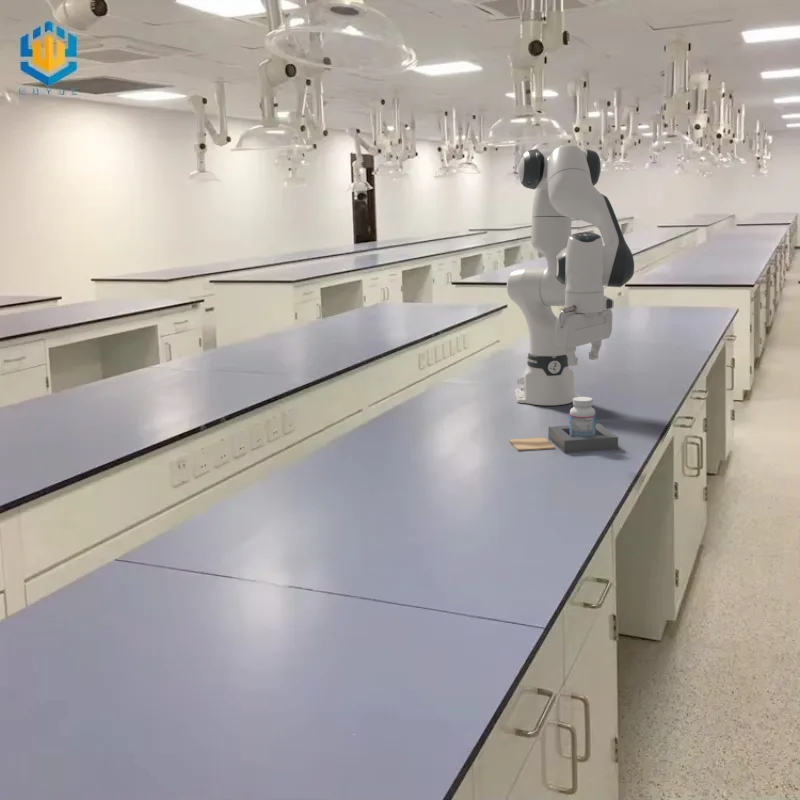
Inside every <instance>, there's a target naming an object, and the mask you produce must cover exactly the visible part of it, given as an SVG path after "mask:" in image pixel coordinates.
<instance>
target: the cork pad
mask: <svg viewBox="0 0 800 800" xmlns="http://www.w3.org/2000/svg"><path fill="white" fill-rule="evenodd" d="M508 442H509V443H510V444H511V445H512V447H514V448H515V450H516V451H517V452H526V451H529V452H530V451H539V450H541V451H542V450H555V449H556V447H555V446H554V445H553V443H552V442H550V440H549V439H547V438H546V437H544V436H543V437H526V438H513V439H511V438H510V439H508Z"/></svg>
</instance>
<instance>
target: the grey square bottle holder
mask: <svg viewBox="0 0 800 800" xmlns="http://www.w3.org/2000/svg"><path fill="white" fill-rule="evenodd" d="M547 433H548V439H547V440H549V441H551V443H552V444H554V445H555V446H556V447H557V448H558V449H559V450H560V451H561V452H563V454H571V453H584V452H585V453H586V452H599V451H613V450H615V451H616V450H618V449H619V437H618V436H617V435H616V434H615V433H613V432H612V431H610V430H609V429H607V428H606V427H605V426H603V425H602V424H601V423H595V436H582V437H571V436H570V424H569V425H555V426H548V432H547Z"/></svg>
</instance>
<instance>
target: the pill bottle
mask: <svg viewBox="0 0 800 800" xmlns="http://www.w3.org/2000/svg"><path fill="white" fill-rule="evenodd" d="M593 400H594V399H593V398H592V397H589V396H580V397H575V398H573V402H572V406H573V407H572V408H570V410H569V425H570V436H571V437H582V436H595V424H596V415H597V414H596V410H595V408H593V407H592V406H593V403H594V402H593Z"/></svg>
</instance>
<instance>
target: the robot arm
mask: <svg viewBox="0 0 800 800" xmlns="http://www.w3.org/2000/svg"><path fill="white" fill-rule="evenodd" d="M600 158H601V157H600V156H599V154H598V153H597V152H596V151H594V150H591V149H586V148H584V149H581V148H580V147H579V146H577V145H574V144H563V145H560V146H558V147H556V148H545V149H543V148H542V149H538V148H535V149H529V150H526V151H525V152H524V153H523V154H522V155H521V158H520V160H519V163H518V169H517V170H518V171H517V172H518V177H519V181H520V183H521V185H522V186H523V187H524V188H525V189H529V190H535V192H534V197H533V204H532V212H531V213H532V216H531V234H530V235H531V237H530V239H531V245H532V247H533V248H534V250H535V251H537V252H538V253H540V254H542V255H543V256H544V257H545V259H546V261H547V266H526V267H521V268H517V269H514V270H513V271H512V272H511V273H510V274H509V276H508V277H507V281H506V292H507V294H508V297H509V299H511V301H512V302H514V304H516V306H518V307H519V309H520V310H521V312H522V314H523V316H524V318H525V321H526V323H527V328H528V339H529V340H528V341H529V343H528V344H529V345H528V346H529V352H528V354H527V357H526V359H527V361H526V364H527V366H526V368H525V370H523V371H524V372H523V373H522V375H521V376H520V377H517V379H516V381H517V386H520V388H515V390H514V395H515V399H516V403H519V404H520V403H521V404H528V405H536V406H560V405H563V406H564V405H566V404H570V403H573V398H575V397H581V396H580V394H577V393H576V385H575V384H576V383H575V371H573V370H572V369H571V368H570V367H569V366H571V367H574V366H577V365H578V363H579V362H578V361H579V358H578V357H577V356H576V353H575V352H577V351H576V350H577V347H580V346H585V345H587V344H588V345H589V344H590V345H591V347H590V348H591V349H590V351H589V352H588V359H589V360H591V361H595V360H598V359H599V352H600V349H601V347H602V343H603V342H602V341H603V340H607V339H609V338H610V337H611V335H612V331H613V311H612V309H614V306H615V301H614V299H612V298H610V297H608V296H607V295H605V291H604V290H605V288H604V287H612V288H622V287H623V286H625V285H626V284H627V283H628V282H629V281H630V280H631V279H632V278H633V276H634V273H635V260H634V256H633V252H632V251H631V249H630V247H629V245H628V244H627V241H626V240H625V237H624V234H623V232H622V229H621V227H620V224H619V221H618V218H617V215H616V214H615V211H614V209H613V206H612V204H611V201H610V200H609V198H608V197H607V196H606V195H605V194H603V193H601V192H600V191H599V190H598V189H597V188H596V187H595V186H596V185H597V183H598V181H599V178H600V176H601V174H602V165H601V164H602V163H601V160H600ZM573 219H575V220H578V221H582V222H586V223H588V224H591V225H593V226H595V227H596V228H597V229H598V230H599V233H600V234H598V233H595V232H588V231H587V232H585V231H584V232H576V233H572V220H573ZM552 307H563V308H562V309H561V311H560V313H559V314H558V317H557V316H556V315H555V314H554V312H553V310H552V309H553V308H552Z"/></svg>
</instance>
